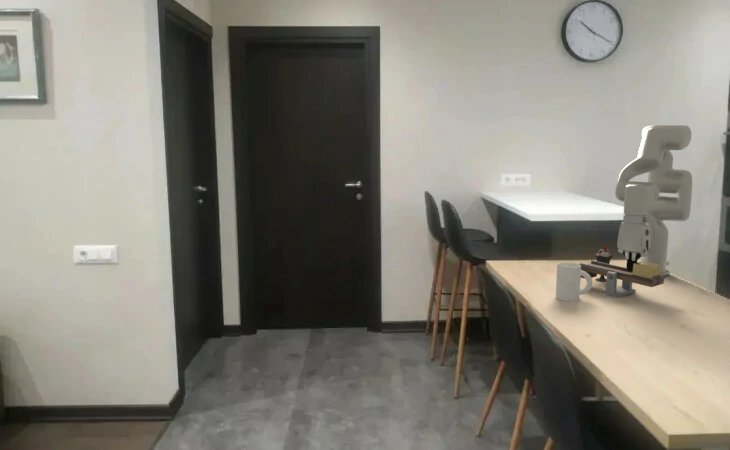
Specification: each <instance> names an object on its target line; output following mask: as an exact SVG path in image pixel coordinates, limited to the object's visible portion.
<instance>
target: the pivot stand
mask: <svg viewBox="0 0 730 450" xmlns="http://www.w3.org/2000/svg"><path fill="white" fill-rule="evenodd" d="M623 267H624V268H627V267H626V266H623ZM606 279H607V281H606V282H605V283H606V285H605V290H603V291H601V295H603V296H608V297H613V298H617V299H618V298H621V297H622V298H623V297H626V296H628V295H630V294H633V293H636V290H637V289H635V288H633V283H632V282H628V281H624V280H621V285H619V286H617V285H618V283H617V281H618V279H617V273H615V272H610V271H609V272H607V276H606Z"/></svg>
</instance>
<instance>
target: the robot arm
mask: <svg viewBox="0 0 730 450" xmlns="http://www.w3.org/2000/svg"><path fill="white" fill-rule="evenodd" d="M641 138H642V139H641V142H640V146H639V149H638V153H637V157H636V158H635V159H634V160H632V161H631V162H629V163H628V164H627V165H626V166H625V167H624V168H623V169H622V170H621V172H620V173H619V175H618V179H617V182H616V185H615V193H614V194H615V198H616V199H617V200H618V201H619V202H623V216H622V217H623V218H622V219H623V220H622V221H621V223H620V226H619V230H618V236H617V244H616V245H617V248H618V249H617V252H618V253H621V254H623V256H624V258H625V260H626V266H625V267H627V271H631V272H632V271H633V265H634V263H637V262H638V260H639V259H640V262H641V261H645V262H649V263H653V264H658V265H662V270H661V275H664V277H666V276H669V275H670V273H671V272H670V270H669V269H667V267H668V266H669V265H670V262H669V261H668V260H667V256H668V243H669V242H668V241H669V229H668V227H667V225H666V224H665V223H664V221H667V222H668V221H669V222H686V221H688V220H689V217H690V214H691V209H692V208H691V205H692V194H693V175H692V173H691V172H690V171H689V170H686V169H673V163H674V156H673V154H672V151H682V150H684V149H686V148H687V147H688V146H689V145H690V143H691V140H692V130H691V127H689V125H679V124H678V125H677V124H676V125H672V124H671V125H668V124H667V125H666V124H661V125H660V124H657V125H655V124H654V125H647V126H645V127H644V128H643V129H642V131H641ZM646 173H648V174H647V181H631V180H632V179H634V178H635V177H637V176H640V175H644V174H646ZM660 194H672V195H673V194H674V195H677V196H663V195H660Z"/></svg>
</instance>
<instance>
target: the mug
mask: <svg viewBox="0 0 730 450" xmlns="http://www.w3.org/2000/svg"><path fill="white" fill-rule="evenodd" d="M581 276H583V277H584V278H583V279H585V281H586V284H585V286H584V287H583V288H581V282H582V281H581V279H582V278H581ZM592 287H593V277H592V278H591V276H590V275H589V274H588V273H587V272H585V271H582V270H581V265H580V263H575V262H559V263H557V265H556V286H555V298H556V299H557V300H560V301H564V302H577V301H579V300H580V297H581V295H585V294H587V293H588V292H589V291H590V290H591V288H592Z"/></svg>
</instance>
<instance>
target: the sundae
mask: <svg viewBox="0 0 730 450" xmlns="http://www.w3.org/2000/svg"><path fill="white" fill-rule="evenodd" d="M608 245H609V243H607V244H606V246H604V247H601V248H599V249H598V252H597V253H594V257H596V261H597V262H602V263H606V264H610V262H611V259H612V258H613V257H614V255H612V254H610V251H609V249H608ZM605 277H606V276H603V275H600V276H599V277H598V278H595V281H597V282H602V283H606V281H607V278H605Z"/></svg>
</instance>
